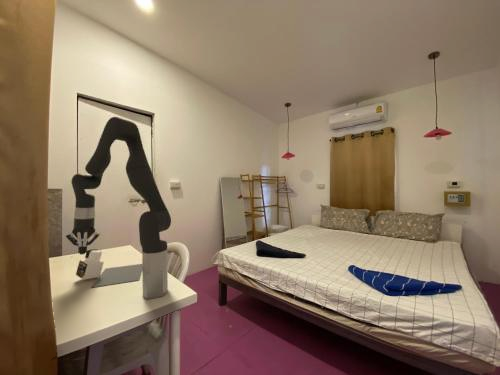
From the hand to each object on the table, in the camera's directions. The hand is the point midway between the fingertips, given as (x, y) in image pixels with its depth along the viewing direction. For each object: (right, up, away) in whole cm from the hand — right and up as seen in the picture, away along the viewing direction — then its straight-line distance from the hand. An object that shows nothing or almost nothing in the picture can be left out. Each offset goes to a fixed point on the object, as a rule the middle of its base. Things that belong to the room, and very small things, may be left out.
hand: (82, 253), depth 97 cm
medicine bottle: (+2, -11, 0) cm, 11 cm away
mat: (+15, -12, +5) cm, 19 cm away
